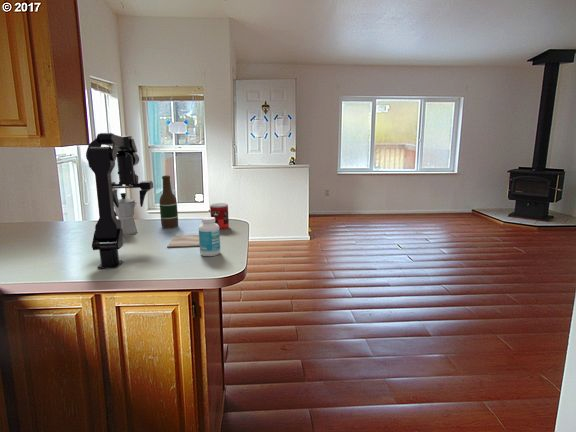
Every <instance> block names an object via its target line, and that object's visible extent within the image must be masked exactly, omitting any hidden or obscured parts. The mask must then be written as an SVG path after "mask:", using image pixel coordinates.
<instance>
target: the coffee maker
mask: <svg viewBox="0 0 576 432" xmlns="http://www.w3.org/2000/svg"><path fill="white" fill-rule="evenodd" d="M120 197H121V198H120V199H119V198H118V202H119V207H118V208H117V207H116V205H115V203H114V201H113V203H114V214H115V217H116V218H117V219H118V220H120V221H121V228H122V230H123V236H131V235H135V234H137V233H138V229H137V225H136V221H135V218H134V215H135V207H136V204H137V202H136V201H135V199H131V198H127V192H122V193H120Z"/></svg>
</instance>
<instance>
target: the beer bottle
mask: <svg viewBox="0 0 576 432" xmlns="http://www.w3.org/2000/svg"><path fill="white" fill-rule="evenodd" d="M161 179H162V194H161V196H160V197H159V210H160V223H161V227H162V228H164V229H172V228H176V227H178V226H179V214H178V212H179V211H178V202H177V198H176V196H175V194H174V193H173V191H172V185H171V184H172V183H171V176H170V175H162V177H161Z"/></svg>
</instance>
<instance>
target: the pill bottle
mask: <svg viewBox="0 0 576 432" xmlns="http://www.w3.org/2000/svg"><path fill="white" fill-rule="evenodd" d="M201 222H202V223H200V225H198V235H199V243H200V247H199V254H200V255H201V256H202V257H216V256H218V255H220V254H221V235H220V234H221V233H220V231H221V230H219V225H218V224H216V223H215V218H214V217H211V216H206V217H202V218H201Z"/></svg>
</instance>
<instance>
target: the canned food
mask: <svg viewBox="0 0 576 432" xmlns="http://www.w3.org/2000/svg"><path fill="white" fill-rule="evenodd" d="M209 209H210V217H214V218H215V223H216V224H218V225H219V231H221V230H220V229H223V230H226V229H228V228H229V226H230V225H229V224H230V221H229V204H228V203H225V202H220V203H219V202H218V203H211V204H210V205H209Z"/></svg>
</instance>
